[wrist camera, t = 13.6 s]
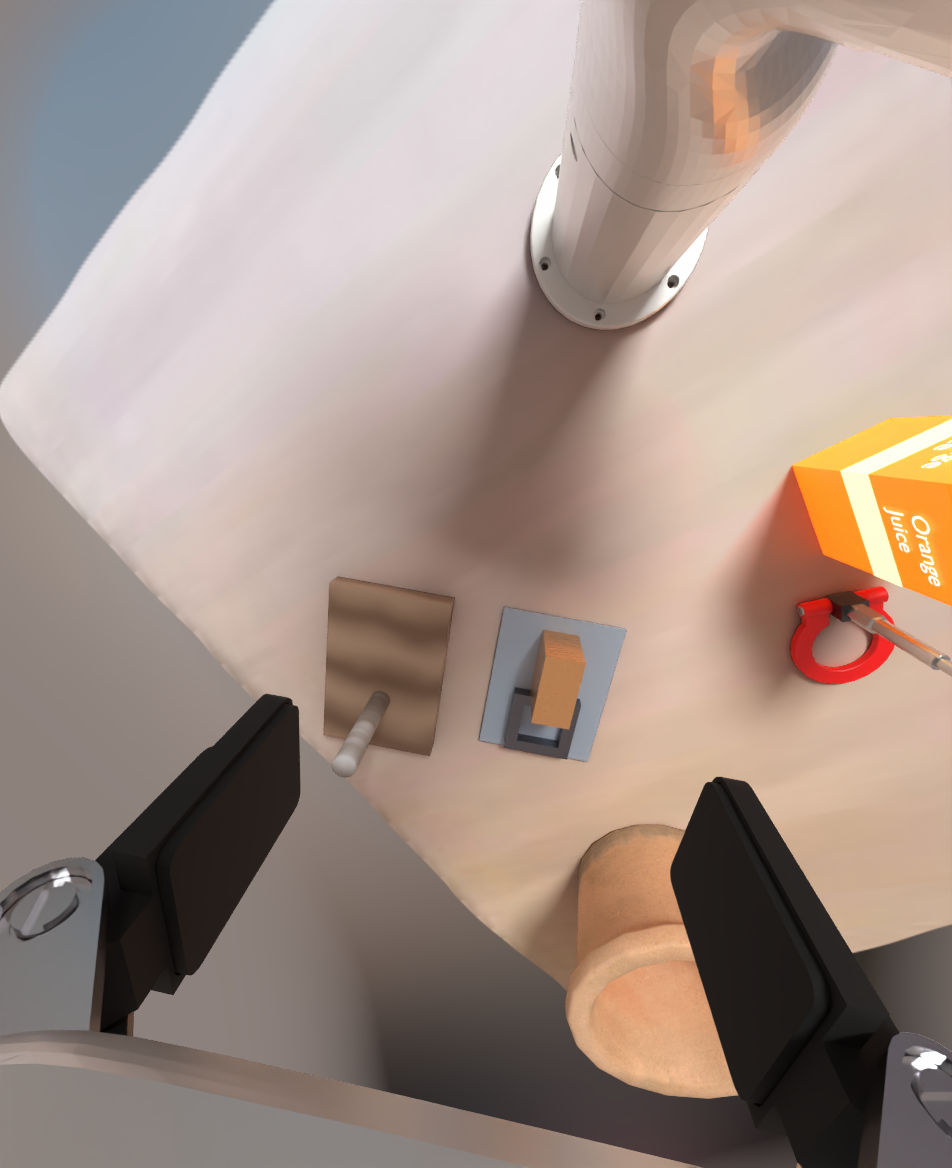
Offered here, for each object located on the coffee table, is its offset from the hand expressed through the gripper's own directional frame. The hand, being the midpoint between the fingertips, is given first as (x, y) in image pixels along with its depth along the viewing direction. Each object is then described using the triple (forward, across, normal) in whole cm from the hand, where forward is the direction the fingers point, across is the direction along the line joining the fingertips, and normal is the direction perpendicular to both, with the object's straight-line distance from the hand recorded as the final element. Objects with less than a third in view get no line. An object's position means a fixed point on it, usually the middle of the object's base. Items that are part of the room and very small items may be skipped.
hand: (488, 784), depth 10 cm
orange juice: (+33, -27, -6) cm, 43 cm away
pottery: (+32, -23, +41) cm, 56 cm away
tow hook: (+32, -31, +7) cm, 46 cm away
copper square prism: (+31, -6, +18) cm, 37 cm away
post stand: (+32, +11, +18) cm, 38 cm away
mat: (+32, -6, +18) cm, 37 cm away
